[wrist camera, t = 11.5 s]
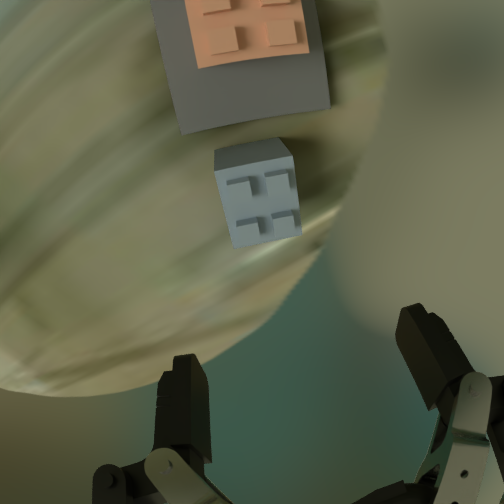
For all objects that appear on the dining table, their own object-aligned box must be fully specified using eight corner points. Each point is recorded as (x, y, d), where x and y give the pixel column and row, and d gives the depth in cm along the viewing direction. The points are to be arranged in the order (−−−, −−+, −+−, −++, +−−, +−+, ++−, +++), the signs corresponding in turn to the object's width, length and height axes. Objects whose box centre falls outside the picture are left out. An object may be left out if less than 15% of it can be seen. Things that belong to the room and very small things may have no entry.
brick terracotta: (202, 67, 18) (197, 69, 13) (189, 3, 15) (180, -16, 11) (289, 54, 18) (313, 52, 13) (278, -9, 15) (299, -30, 11)
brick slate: (214, 149, 23) (214, 175, 18) (278, 137, 23) (295, 159, 18) (230, 216, 26) (234, 255, 22) (288, 204, 26) (304, 240, 22)
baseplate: (139, -69, 11) (136, -75, 10) (286, -91, 11) (290, -97, 10) (183, 131, 22) (181, 135, 21) (325, 106, 22) (330, 108, 21)
